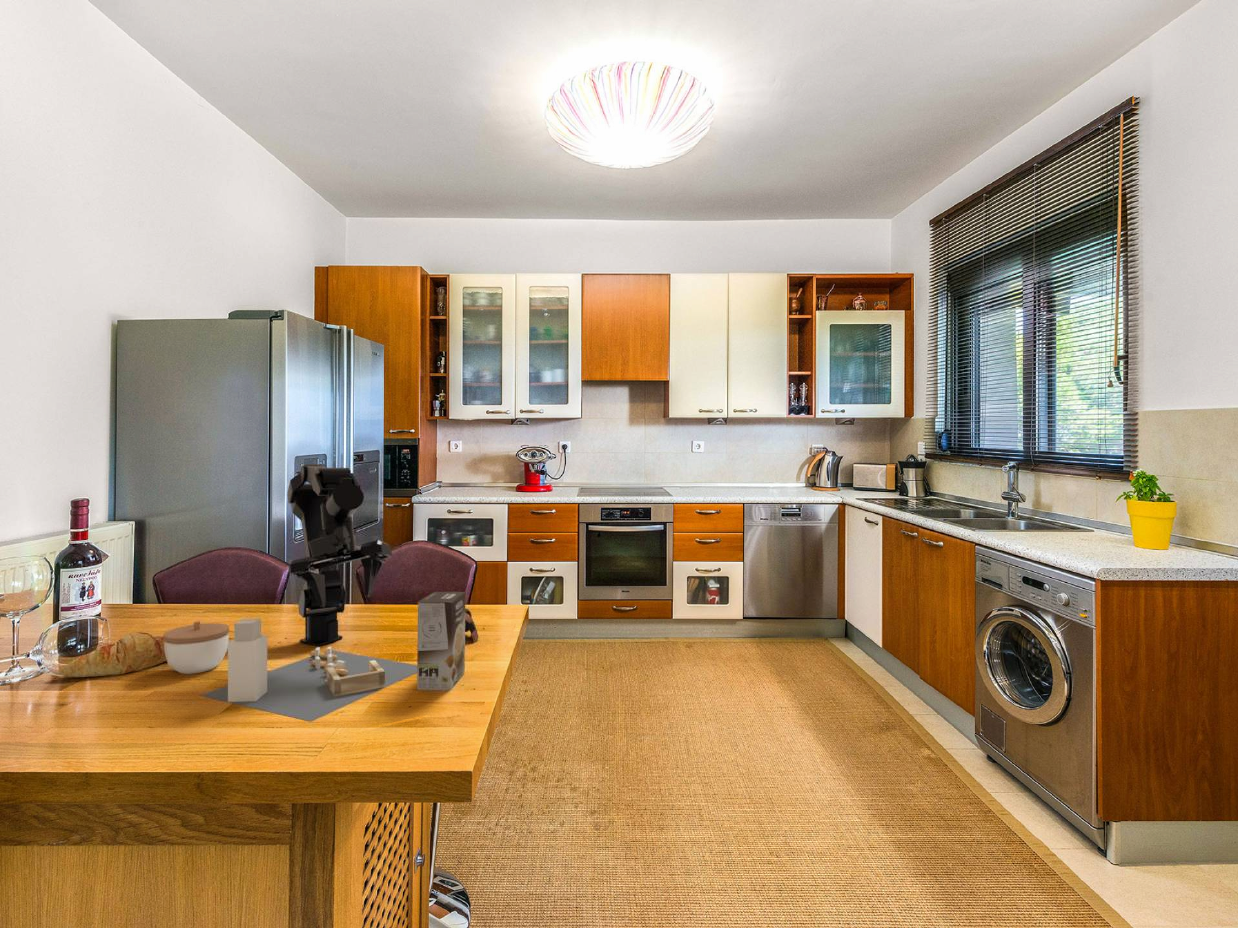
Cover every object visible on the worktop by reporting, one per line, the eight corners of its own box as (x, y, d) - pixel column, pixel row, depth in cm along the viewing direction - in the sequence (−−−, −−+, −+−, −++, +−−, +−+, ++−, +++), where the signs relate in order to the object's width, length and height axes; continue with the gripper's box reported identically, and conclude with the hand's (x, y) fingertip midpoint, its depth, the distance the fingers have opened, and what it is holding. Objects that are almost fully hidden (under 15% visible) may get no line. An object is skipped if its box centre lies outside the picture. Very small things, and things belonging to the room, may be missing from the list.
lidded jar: (207, 658, 133) (207, 612, 132) (241, 666, 128) (241, 618, 128) (150, 674, 123) (150, 624, 123) (184, 683, 118) (184, 632, 118)
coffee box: (451, 692, 115) (452, 602, 115) (416, 691, 115) (416, 601, 115) (465, 674, 124) (466, 591, 124) (432, 673, 125) (432, 590, 124)
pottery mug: (475, 649, 142) (456, 618, 140) (439, 665, 144) (419, 635, 142) (489, 621, 154) (472, 592, 152) (456, 636, 155) (438, 608, 154)
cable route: (305, 656, 133) (305, 646, 133) (332, 652, 136) (332, 642, 136) (319, 680, 119) (319, 669, 119) (348, 675, 122) (348, 664, 122)
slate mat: (199, 697, 112) (199, 695, 112) (330, 651, 137) (330, 649, 137) (310, 723, 101) (310, 721, 101) (429, 669, 127) (429, 666, 127)
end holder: (325, 681, 119) (325, 666, 119) (373, 673, 123) (373, 658, 123) (334, 696, 112) (334, 680, 112) (385, 686, 116) (385, 671, 116)
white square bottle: (240, 692, 113) (240, 617, 113) (267, 691, 114) (267, 617, 113) (228, 701, 109) (227, 624, 109) (255, 701, 109) (255, 624, 109)
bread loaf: (62, 703, 117) (66, 669, 115) (51, 667, 123) (54, 633, 120) (196, 671, 133) (202, 641, 131) (181, 640, 139) (186, 610, 136)
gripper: (270, 528, 125) (276, 609, 120) (365, 506, 125) (374, 586, 121) (301, 539, 136) (307, 613, 131) (388, 518, 136) (397, 592, 131)
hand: (345, 601), depth 128 cm, fingers open, 9 cm apart
